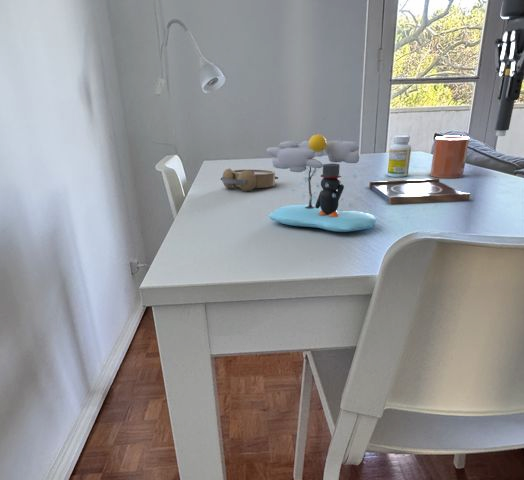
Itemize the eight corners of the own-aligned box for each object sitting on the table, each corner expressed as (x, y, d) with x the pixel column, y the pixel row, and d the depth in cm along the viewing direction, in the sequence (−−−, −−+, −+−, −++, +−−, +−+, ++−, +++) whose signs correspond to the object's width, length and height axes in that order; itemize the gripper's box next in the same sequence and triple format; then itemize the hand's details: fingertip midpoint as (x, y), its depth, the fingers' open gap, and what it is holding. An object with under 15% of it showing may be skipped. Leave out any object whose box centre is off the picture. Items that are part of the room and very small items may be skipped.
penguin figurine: (384, 226, 83) (393, 132, 75) (354, 241, 76) (360, 138, 68) (293, 212, 94) (292, 128, 87) (259, 224, 87) (255, 134, 80)
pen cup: (455, 172, 126) (461, 135, 122) (468, 177, 119) (474, 138, 115) (425, 173, 126) (430, 136, 122) (437, 178, 119) (442, 140, 115)
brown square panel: (437, 184, 113) (438, 178, 112) (469, 200, 98) (470, 193, 97) (369, 187, 112) (369, 181, 112) (390, 204, 97) (390, 197, 96)
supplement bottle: (398, 178, 122) (402, 137, 117) (382, 175, 126) (386, 136, 121) (412, 175, 124) (417, 135, 119) (397, 172, 128) (401, 134, 123)
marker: (503, 134, 91) (516, 68, 85) (510, 136, 88) (524, 68, 83) (490, 135, 91) (503, 69, 85) (497, 136, 88) (510, 68, 83)
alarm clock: (285, 172, 118) (244, 169, 107) (283, 192, 120) (242, 192, 109) (252, 168, 124) (210, 165, 114) (250, 188, 126) (209, 187, 116)
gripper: (579, -28, 72) (549, 100, 81) (529, -12, 84) (508, 97, 93) (531, -26, 72) (506, 102, 80) (488, -11, 84) (470, 99, 92)
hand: (507, 99), depth 86 cm, fingers closed on marker, 2 cm apart
